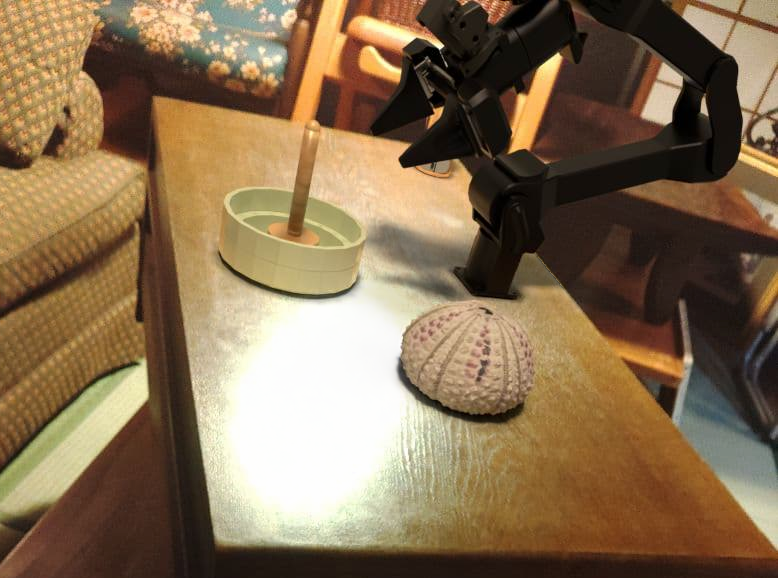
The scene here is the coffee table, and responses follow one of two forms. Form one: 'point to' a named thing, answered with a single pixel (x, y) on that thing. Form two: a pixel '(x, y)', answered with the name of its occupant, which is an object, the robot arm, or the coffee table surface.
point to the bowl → (290, 242)
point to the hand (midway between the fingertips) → (385, 147)
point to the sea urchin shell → (469, 357)
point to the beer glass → (439, 167)
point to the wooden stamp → (301, 191)
